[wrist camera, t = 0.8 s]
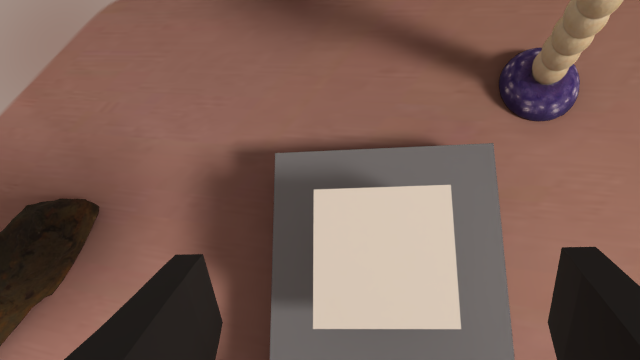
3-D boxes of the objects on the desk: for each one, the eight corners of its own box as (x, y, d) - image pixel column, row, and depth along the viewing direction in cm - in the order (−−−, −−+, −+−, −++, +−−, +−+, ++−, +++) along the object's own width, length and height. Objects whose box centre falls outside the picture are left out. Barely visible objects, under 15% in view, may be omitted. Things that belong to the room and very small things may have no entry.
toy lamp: (596, 66, 29) (843, -255, 13) (575, 141, 28) (816, -107, 12) (509, 45, 30) (639, -275, 14) (487, 116, 29) (600, -141, 13)
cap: (448, 328, 24) (461, 329, 19) (328, 328, 24) (313, 328, 20) (440, 210, 25) (450, 184, 21) (327, 213, 26) (313, 189, 21)
